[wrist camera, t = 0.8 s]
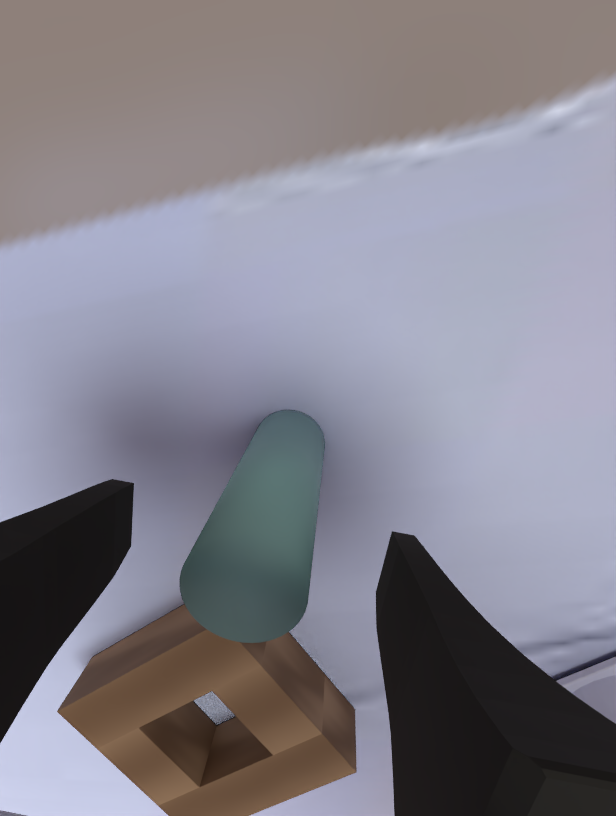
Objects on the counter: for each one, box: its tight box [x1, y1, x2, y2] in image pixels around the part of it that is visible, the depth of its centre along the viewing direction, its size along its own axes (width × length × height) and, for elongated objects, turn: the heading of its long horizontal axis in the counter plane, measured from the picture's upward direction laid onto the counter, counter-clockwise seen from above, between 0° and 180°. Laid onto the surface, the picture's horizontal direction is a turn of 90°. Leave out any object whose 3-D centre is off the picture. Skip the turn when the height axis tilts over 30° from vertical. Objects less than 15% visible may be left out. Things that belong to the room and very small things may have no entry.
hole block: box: [57, 604, 356, 816], centre depth 22 cm, size 10×10×3 cm
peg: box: [180, 410, 325, 643], centre depth 14 cm, size 3×3×9 cm
